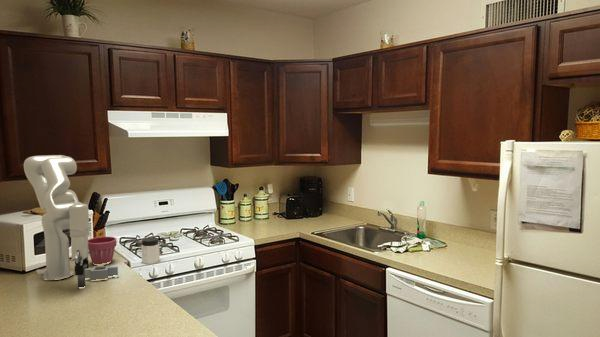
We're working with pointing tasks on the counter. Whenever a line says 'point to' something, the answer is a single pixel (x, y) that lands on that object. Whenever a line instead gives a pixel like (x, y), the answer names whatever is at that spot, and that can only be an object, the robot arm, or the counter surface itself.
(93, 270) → the hinge
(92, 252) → the plant pot
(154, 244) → the jar
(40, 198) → the robot arm
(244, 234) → the counter surface
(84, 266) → the hinge pin
